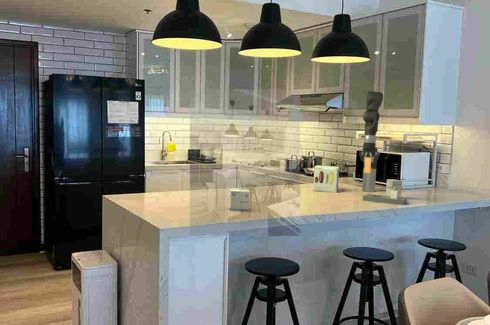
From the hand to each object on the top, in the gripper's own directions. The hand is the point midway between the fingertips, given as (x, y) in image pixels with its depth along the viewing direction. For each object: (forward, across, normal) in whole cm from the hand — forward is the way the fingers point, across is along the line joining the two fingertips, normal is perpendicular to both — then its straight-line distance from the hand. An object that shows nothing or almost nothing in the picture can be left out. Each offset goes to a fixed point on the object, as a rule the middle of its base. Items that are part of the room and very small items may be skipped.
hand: (368, 167), depth 320 cm
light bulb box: (+22, +47, +85) cm, 99 cm away
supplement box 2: (+22, -12, -20) cm, 32 cm away
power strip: (+21, -12, -1) cm, 25 cm away
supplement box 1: (+22, +37, -18) cm, 46 cm away
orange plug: (+3, 0, 0) cm, 3 cm away
